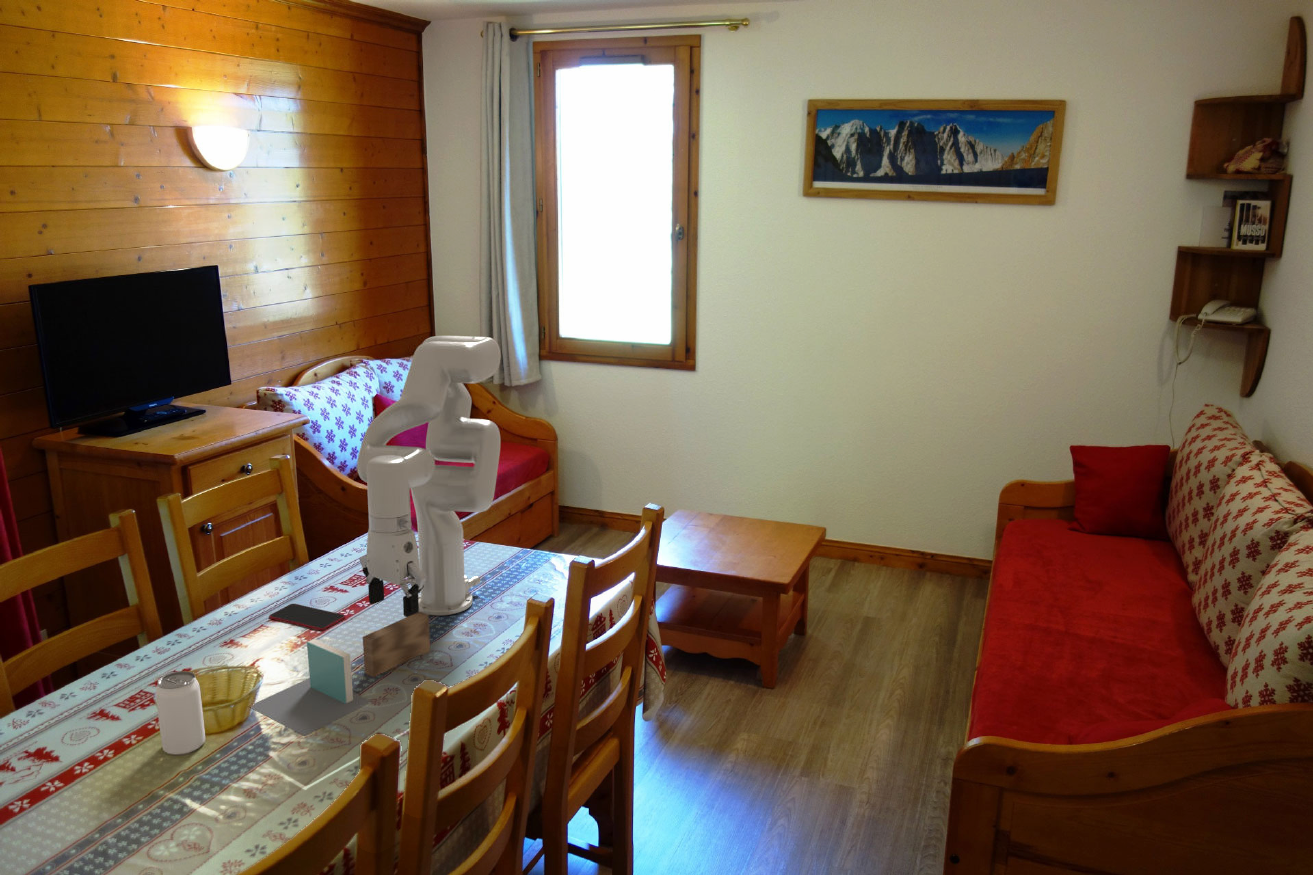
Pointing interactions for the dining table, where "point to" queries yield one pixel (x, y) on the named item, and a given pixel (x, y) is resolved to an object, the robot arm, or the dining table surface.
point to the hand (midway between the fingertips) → (393, 608)
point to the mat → (306, 707)
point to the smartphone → (307, 617)
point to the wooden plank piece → (396, 643)
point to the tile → (330, 670)
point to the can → (180, 713)
